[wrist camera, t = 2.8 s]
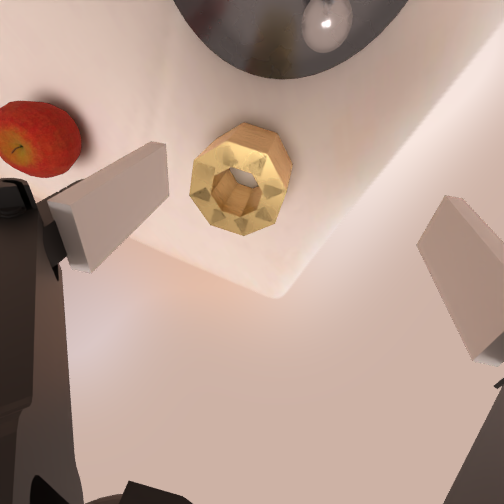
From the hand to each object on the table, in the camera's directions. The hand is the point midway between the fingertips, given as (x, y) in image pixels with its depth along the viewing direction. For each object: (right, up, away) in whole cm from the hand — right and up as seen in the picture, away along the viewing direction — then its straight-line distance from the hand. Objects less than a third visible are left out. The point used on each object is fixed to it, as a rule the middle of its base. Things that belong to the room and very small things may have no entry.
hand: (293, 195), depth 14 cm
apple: (-25, +12, +21) cm, 35 cm away
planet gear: (-2, +7, +19) cm, 20 cm away
